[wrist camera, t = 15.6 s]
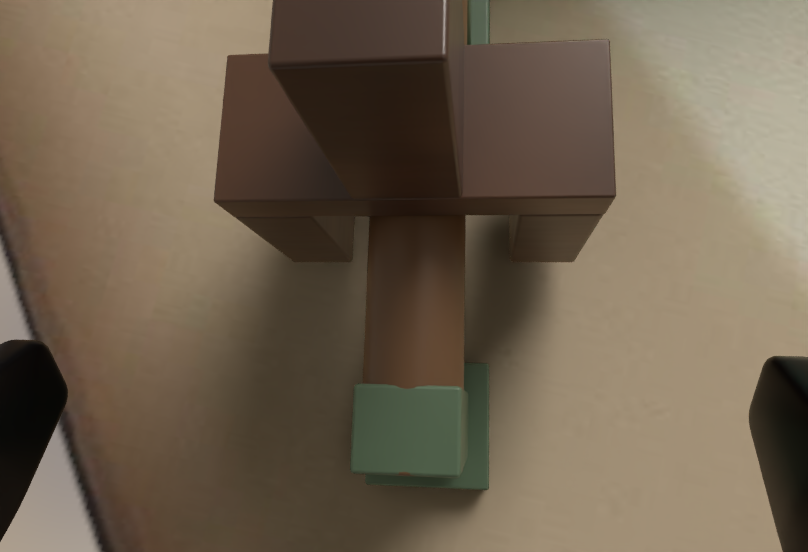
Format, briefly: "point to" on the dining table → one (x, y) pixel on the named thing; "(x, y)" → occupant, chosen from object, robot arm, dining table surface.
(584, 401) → the dining table surface
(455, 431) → the stand
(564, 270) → the dining table surface
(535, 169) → the brown stepped block
